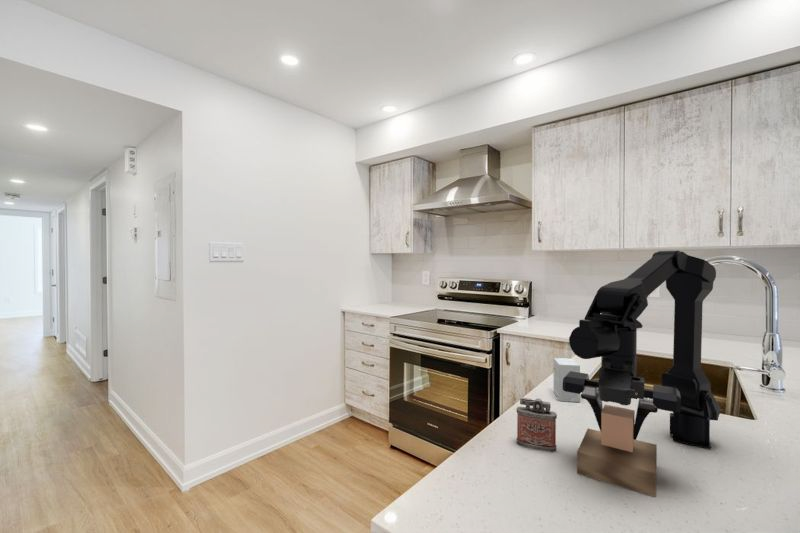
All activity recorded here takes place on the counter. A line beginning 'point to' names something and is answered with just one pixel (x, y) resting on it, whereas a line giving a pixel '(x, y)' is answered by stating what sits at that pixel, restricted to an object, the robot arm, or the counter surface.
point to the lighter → (536, 425)
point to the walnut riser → (618, 463)
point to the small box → (560, 371)
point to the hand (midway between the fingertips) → (617, 434)
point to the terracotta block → (617, 427)
